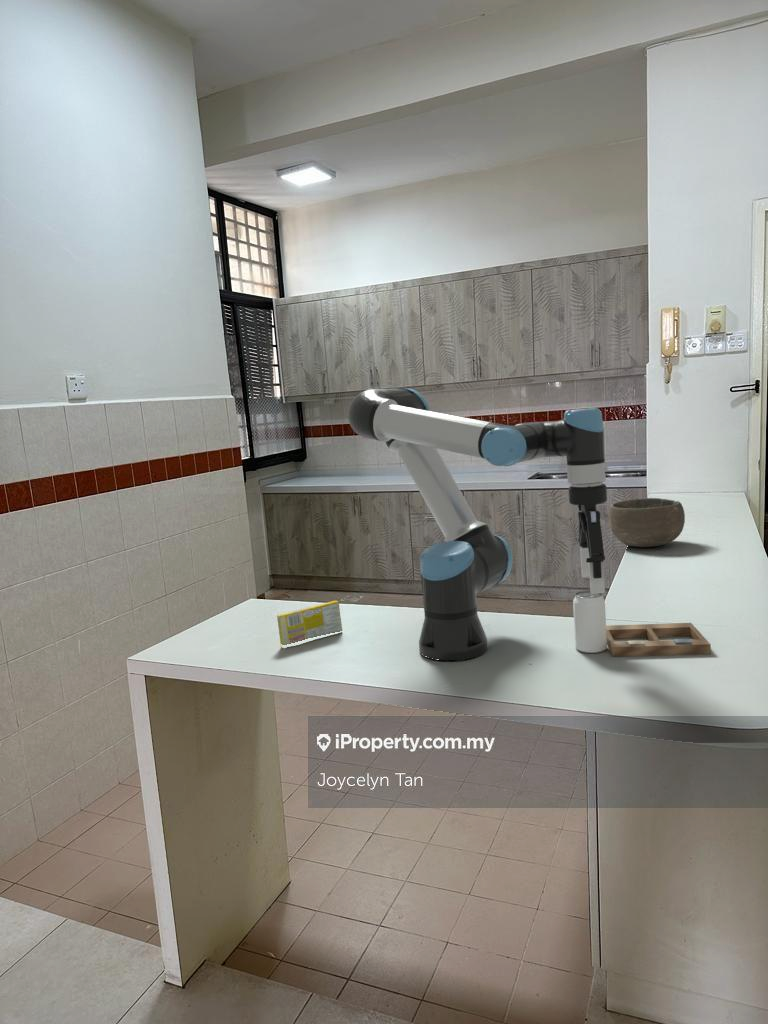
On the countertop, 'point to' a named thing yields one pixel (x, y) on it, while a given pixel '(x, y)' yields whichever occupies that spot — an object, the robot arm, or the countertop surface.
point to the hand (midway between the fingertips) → (592, 584)
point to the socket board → (656, 640)
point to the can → (589, 622)
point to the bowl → (646, 521)
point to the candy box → (309, 622)
